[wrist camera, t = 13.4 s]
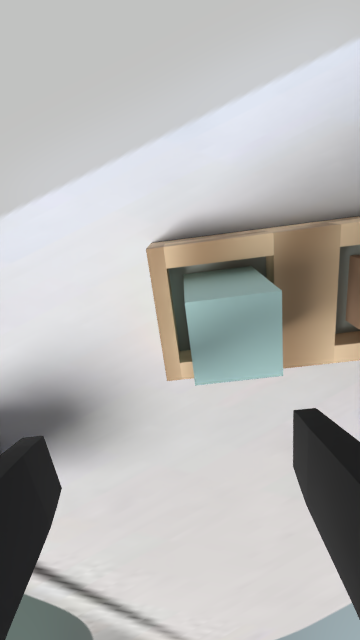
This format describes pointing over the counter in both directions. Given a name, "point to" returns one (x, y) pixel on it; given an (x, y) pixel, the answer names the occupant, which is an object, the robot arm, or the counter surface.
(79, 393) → the counter surface
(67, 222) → the counter surface
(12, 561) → the robot arm
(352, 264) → the tan cardboard box
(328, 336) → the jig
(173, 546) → the counter surface
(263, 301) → the block
